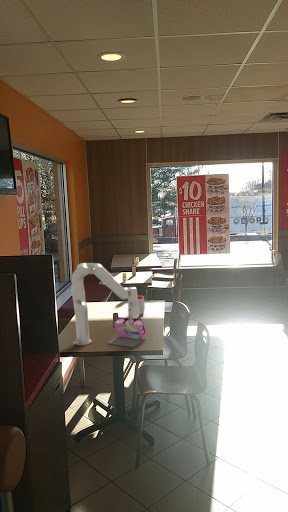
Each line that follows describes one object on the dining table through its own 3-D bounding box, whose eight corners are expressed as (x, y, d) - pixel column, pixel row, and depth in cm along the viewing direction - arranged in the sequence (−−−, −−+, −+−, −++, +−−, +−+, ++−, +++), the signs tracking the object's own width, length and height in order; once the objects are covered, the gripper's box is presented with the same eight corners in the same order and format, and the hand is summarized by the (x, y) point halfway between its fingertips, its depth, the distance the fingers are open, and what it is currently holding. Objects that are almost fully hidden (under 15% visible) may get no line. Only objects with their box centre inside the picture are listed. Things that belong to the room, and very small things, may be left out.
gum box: (148, 333, 328) (143, 319, 323) (144, 340, 323) (138, 325, 317) (123, 330, 342) (118, 316, 336) (118, 336, 336) (113, 323, 330)
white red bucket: (144, 311, 405) (142, 291, 402) (146, 316, 388) (145, 295, 385) (127, 313, 403) (126, 292, 400) (129, 318, 386) (127, 296, 383)
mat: (133, 347, 311) (133, 346, 311) (107, 343, 322) (107, 342, 322) (143, 340, 324) (143, 340, 324) (118, 337, 335) (118, 336, 335)
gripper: (132, 306, 323) (133, 329, 326) (141, 301, 336) (143, 323, 339) (123, 305, 327) (125, 328, 329) (133, 300, 340) (134, 323, 342)
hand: (134, 326), depth 334 cm, fingers closed
